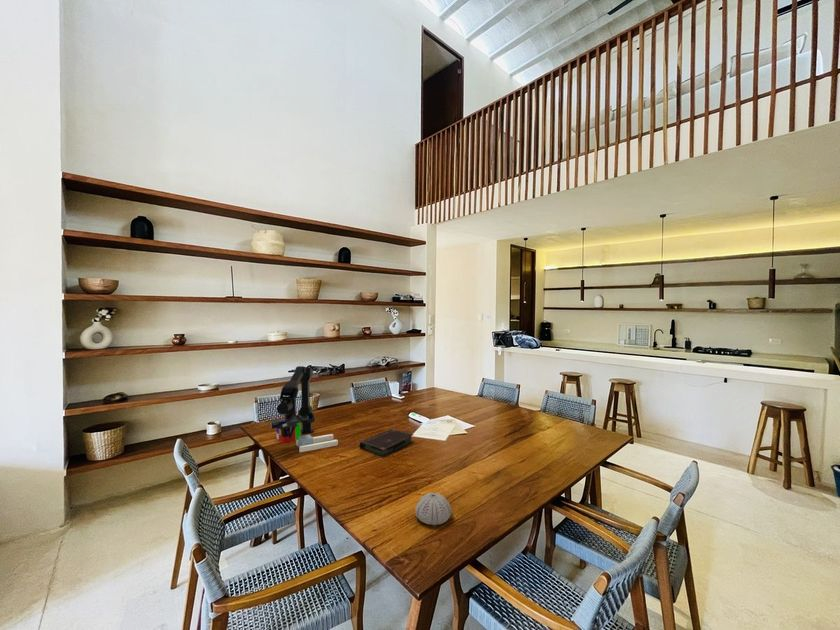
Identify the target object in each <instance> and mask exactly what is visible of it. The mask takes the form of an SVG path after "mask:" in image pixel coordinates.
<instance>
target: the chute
mask: <svg viewBox="0 0 840 630" xmlns="http://www.w3.org/2000/svg"><path fill="white" fill-rule="evenodd" d="M312 437H313V444H310V445H304V446H299V447H298V439H297V440H295V441H296V442H295V445H296V447H298V449H299V450H298V452H299V453H305V452H310V451H314V450H315V451H316V450H320V449H326V448H330V447H331V448H332V447H335V446H336V447H337V446H338V445H339V441H338V439H334V434H333V433H330V434H325V435H318V436H312Z"/></svg>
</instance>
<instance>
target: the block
mask: <svg viewBox="0 0 840 630" xmlns="http://www.w3.org/2000/svg"><path fill="white" fill-rule="evenodd" d="M313 437H314V436H312V435H311V434H305V435H301V436H300V437H298V439H297V440H298V446H297V447H298V448H299V446H304V445H310V444H314V443H313Z"/></svg>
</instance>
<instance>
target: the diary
mask: <svg viewBox="0 0 840 630" xmlns="http://www.w3.org/2000/svg"><path fill="white" fill-rule="evenodd" d="M414 435H415V434H414V433H410V432H406V431H403V430H398V429H394V428H391V429H388V430H385V431H384V432H382V433H378V434H375V435H373V436H371V437H368V438H366V439H363V440H361V441H359V445H358V446H359V450H364V451H368V452H369V453H371V454H373V455H374V456H377V457H380V458H385V457H387V456H389V455H391V454H394V453H395V452H397V451H400V450H401V449H404V448H405V447H407V446H409V445H411V444H414V443H415V442H414V441H412V436H414Z"/></svg>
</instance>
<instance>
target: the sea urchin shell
mask: <svg viewBox="0 0 840 630" xmlns="http://www.w3.org/2000/svg"><path fill="white" fill-rule="evenodd" d="M451 507H452V506H451V504H450V503H449V501H448V500H447V499H446V497H445V496H444V495H442V494H440V493H438V492H429V493H425V494H424V495H423V496H421V498H420V499H419V500H418V501H417V503H416V505H415V507H414V508H415V509H414V510H415V511H414V514H415V517H416V518H417V519H418V520H419V521H421V523H424V524H427V525H432V526H438V525H443V524H444V523H446V522H447V521H448V519H450V517H451V516H452V508H451Z"/></svg>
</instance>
